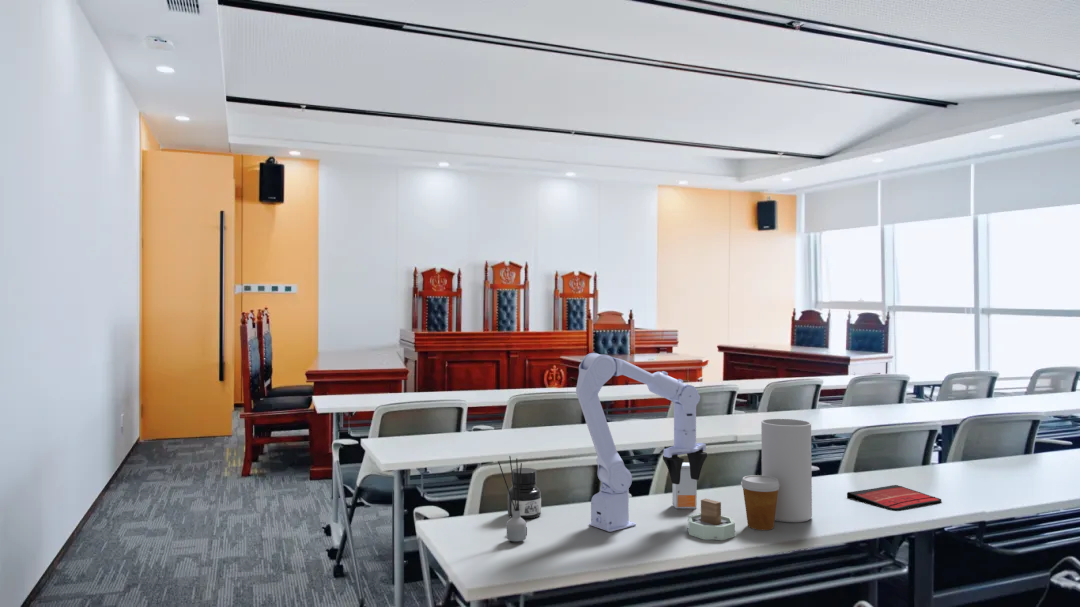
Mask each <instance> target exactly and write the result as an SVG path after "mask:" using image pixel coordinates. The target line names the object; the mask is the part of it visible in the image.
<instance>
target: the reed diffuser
mask: <svg viewBox="0 0 1080 607" xmlns="http://www.w3.org/2000/svg"><path fill="white" fill-rule="evenodd" d="M511 458H512V456H511V455H509V458H508V459H509V465H510V470H511V471H510V472H511V473H510V474H511V483H512V482H513V485H512V486H513V490H514V497H515V489H514V481H513V473H512V470H513V466H512V459H511ZM515 462H516V463H515V464H516V468H517V497H518V502H517V505H516V497H515V505H516V509H515V506H514V503H513V500H512V497H511V494H510V491H509V489H510V488H509V486H508V483H507V481H506V480H507V479H506V478H505V474H504V471H503V469H502V465H501V463H500V461H499V460H498V461H497V463H498V466H499V469H500V472H501V475H502V477H503V479H504V484H505V486H506V489H507V493H508V492H509V495H510V498H511V500H512V503H513V506H514V509H513V515H512V517H510V518H509V519H508V520H507V522H506V539H507V540H508V541H510V542H522V541H525V540H526V539H527V537H528V527H527V522H526V519H522V518H521V517H520V509H519V491H520V480H521V468H523V467H522V466H523V463H522V462H520V467H518V466H519V465H518V458H515ZM518 468H520V478H519V490H518Z"/></svg>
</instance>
